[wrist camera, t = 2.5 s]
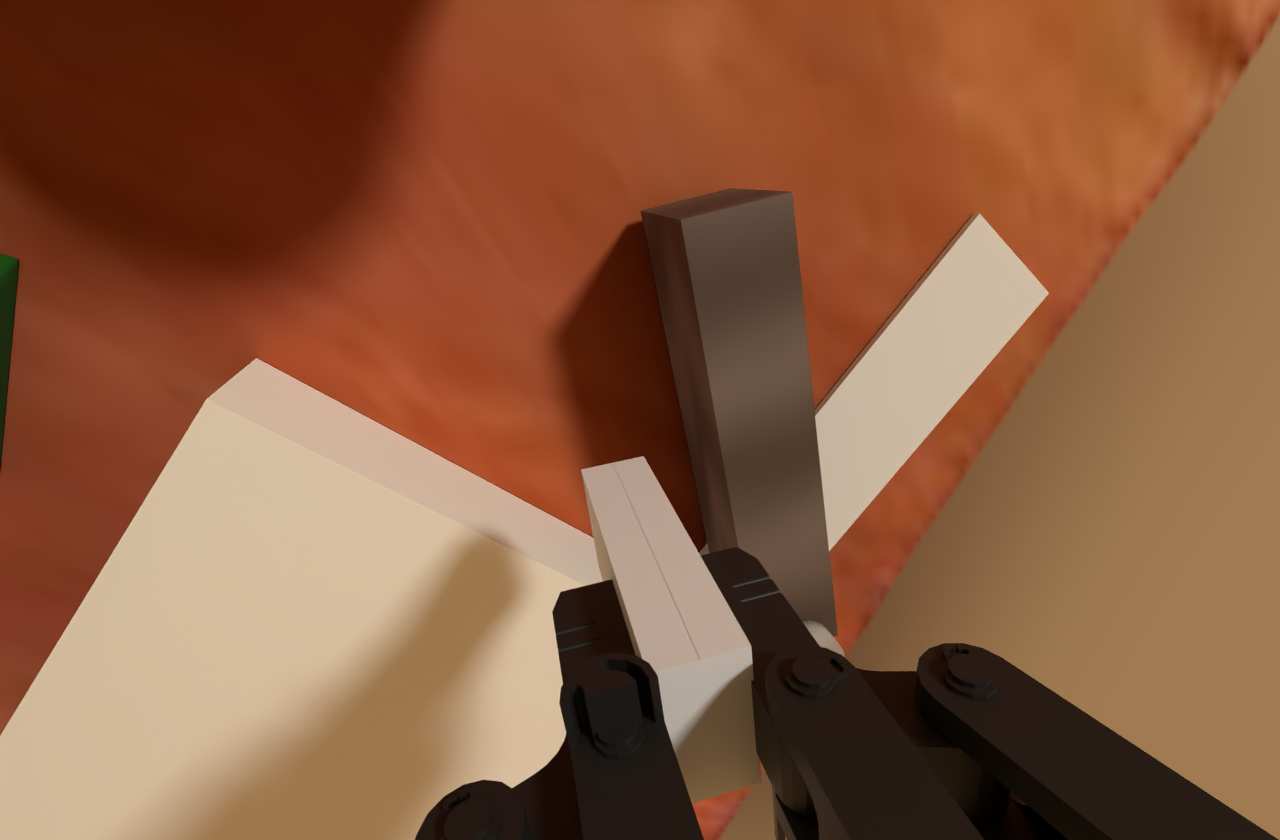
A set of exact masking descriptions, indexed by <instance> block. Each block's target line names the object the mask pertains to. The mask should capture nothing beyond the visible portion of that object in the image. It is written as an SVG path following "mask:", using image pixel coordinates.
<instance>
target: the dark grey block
mask: <svg viewBox="0 0 1280 840" xmlns="http://www.w3.org/2000/svg"><path fill="white" fill-rule="evenodd" d="M641 215H642V220H643V225H644V230H645V235H646V240H647V245H648V250H649V255H650V260H651V265H652V270H653V275H654V280H655V285H656V290H657V295H658V300H659V305H660V310H661V315H662V320H663V325H664V330H665V335H666V340H667V345H668V350H669V355H670V360H671V365H672V370H673V375H674V380H675V385H676V390H677V395H678V399H679V404H680V409H681V414H682V419H683V424H684V429H685V434H686V439H687V444H688V449H689V454H690V459H691V464H692V469H693V474H694V479H695V484H696V489H697V494H698V499H699V504H700V509H701V514H702V519H703V524H704V529H705V534H706V539H707V544H708V549H709V553H713V552H717V551H721V550H725V549H729V548H734V547H738V548H740V549H742V550H744V551H745V552H747V553H749V554H750V555H752V556H754V557H755V558H757V559H758V560H759V562H760V563H761V565H762V566H763V567H764V569H765V570H766V572H767V573H768V574H769V577H770V579H772V580H773V581H774V583H775V584H776V586H777V587H778V588H779V591H780V593H782V594H783V595H784V597H785V598H786V600H787V601H788V602H789V604H790V605H791V607H792V608H793V609H794V611H795V612H796V614H797V615H798V616H799V618H800V619H801V621H802V622H803V623H804V625H805V626H806V628H807V629H808V630H809V632H810V633H811V634H812V636H813V637H814V639H815V640H816V641H817V643H818V644H819V645H820V647H824V648H827V649H830V650H832V651H834V652H836V653H838V654H840V655H842V656H843V657H845V656H844V652H843V650H842V648H841V646H840V645H839V644H838V643H837V641H836V640H835V639H834V636H837V635H838V633H837V624H836V614H835V604H834V595H833V585H832V575H831V566H830V556H829V546H828V536H827V527H826V517H825V507H824V498H823V488H822V478H821V469H820V459H819V449H818V440H817V430H816V420H815V411H814V401H813V391H812V381H811V372H810V362H809V352H808V343H807V333H806V323H805V314H804V304H803V294H802V285H801V275H800V265H799V256H798V246H797V236H796V227H795V217H794V207H793V197H792V192H786V191H768V190H749V189H727V190H723V191H719V192H715V193H711V194H707V195H703V196H699V197H695V198H691V199H687V200H683V201H679V202H675V203H671V204H667V205H663V206H659V207H655V208H650V209H646V210H642V211H641Z"/></svg>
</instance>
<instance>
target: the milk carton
mask: <svg viewBox="0 0 1280 840" xmlns="http://www.w3.org/2000/svg"><path fill="white" fill-rule="evenodd" d="M18 266H19V259H17V258H13V257H10V256H6V255H3V254H0V464H1V453H2V442H3V431H4V420H5V409H6V398H7V387H8V376H9V365H10V354H11V343H12V332H13V321H14V310H15V299H16V288H17V277H18Z"/></svg>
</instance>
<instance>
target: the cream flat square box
mask: <svg viewBox="0 0 1280 840" xmlns="http://www.w3.org/2000/svg"><path fill="white" fill-rule="evenodd" d="M599 582H603V580H602V576H601V573H600V569H599V565H598V559H597V554H596V548H595V543H594V538H592V537H590V536H589V535H587V534H585V533H583V532H581V531H579V530H577V529H575V528H574V527H572V526H570V525H568V524H566V523H564V522H562V521H561V520H559V519H557V518H555V517H553V516H551V515H549V514H547V513H546V512H544V511H542V510H540V509H538V508H536V507H534V506H532V505H531V504H529V503H527V502H525V501H523V500H521V499H519V498H517V497H516V496H514V495H512V494H510V493H508V492H506V491H504V490H502V489H501V488H499V487H497V486H495V485H493V484H491V483H489V482H487V481H486V480H484V479H482V478H480V477H478V476H476V475H474V474H472V473H471V472H469V471H467V470H465V469H463V468H461V467H459V466H458V465H456V464H454V463H452V462H450V461H448V460H446V459H444V458H443V457H441V456H439V455H437V454H435V453H433V452H431V451H429V450H428V449H426V448H424V447H422V446H420V445H418V444H416V443H414V442H413V441H411V440H409V439H407V438H405V437H403V436H401V435H399V434H398V433H396V432H394V431H392V430H390V429H388V428H386V427H384V426H383V425H381V424H379V423H377V422H375V421H373V420H371V419H370V418H368V417H366V416H364V415H362V414H360V413H358V412H356V411H355V410H353V409H351V408H349V407H347V406H345V405H343V404H341V403H340V402H338V401H336V400H334V399H332V398H330V397H328V396H326V395H325V394H323V393H321V392H319V391H317V390H315V389H313V388H311V387H310V386H308V385H306V384H304V383H302V382H300V381H298V380H296V379H295V378H293V377H291V376H289V375H287V374H285V373H283V372H281V371H280V370H278V369H276V368H274V367H272V366H270V365H268V364H267V363H265V362H263V361H261V360H259V359H257V358H256V359H255V360H254V361H252V362H251V363H250V364H249V365H247V366H246V367H245V368H244V369H243V370H241V371H240V372H239V373H238V374H236V375H235V376H234V377H233V378H232V379H230V380H229V381H228V382H227V383H226V384H224V385H223V386H222V387H221V388H219V389H218V390H217V391H216V392H215V393H213V394H212V395H211V396H210V397H209V398H207V399H206V401H205V403H204V404H203V406H202V407H201V409H200V411H199V412H198V414H197V416H196V417H195V419H194V421H193V422H192V424H191V425H190V427H189V429H188V430H187V432H186V434H185V435H184V437H183V438H182V440H181V442H180V443H179V445H178V447H177V448H176V450H175V452H174V453H173V455H172V456H171V458H170V460H169V461H168V463H167V465H166V466H165V468H164V470H163V471H162V473H161V474H160V476H159V478H158V479H157V481H156V483H155V484H154V486H153V487H152V489H151V491H150V492H149V494H148V496H147V497H146V499H145V501H144V502H143V504H142V505H141V507H140V509H139V510H138V512H137V514H136V515H135V517H134V518H133V520H132V522H131V523H130V525H129V527H128V528H127V530H126V532H125V533H124V535H123V536H122V538H121V540H120V541H119V543H118V545H117V546H116V548H115V550H114V551H113V553H112V554H111V556H110V558H109V559H108V561H107V563H106V564H105V566H104V567H103V569H102V571H101V572H100V574H99V576H98V577H97V579H96V581H95V582H94V584H93V585H92V587H91V589H90V590H89V592H88V594H87V595H86V597H85V598H84V600H83V602H82V603H81V605H80V607H79V608H78V610H77V612H76V613H75V615H74V616H73V618H72V620H71V621H70V623H69V625H68V626H67V628H66V630H65V631H64V633H63V634H62V636H61V638H60V639H59V641H58V643H57V644H56V646H55V647H54V649H53V651H52V652H51V654H50V656H49V657H48V659H47V661H46V662H45V664H44V665H43V667H42V669H41V670H40V672H39V674H38V675H37V677H36V679H35V680H34V682H33V683H32V685H31V687H30V688H29V690H28V692H27V693H26V695H25V696H24V698H23V700H22V701H21V703H20V705H19V706H18V708H17V710H16V711H15V713H14V714H13V716H12V718H11V719H10V721H9V723H8V724H7V726H6V727H5V729H4V731H3V732H2V734H1V736H0V840H415V838H416V835H417V833H418V831H419V829H420V827H421V825H422V823H423V821H424V819H425V818H426V816H427V814H428V813H429V812H430V811H431V809H432V808H433V807H434V806H435V805H436V804H437V803H438V802H439V801H440V800H441V799H442V798H443V797H444V796H446V795H447V794H449V793H451V792H452V791H454V790H456V789H457V788H459V787H460V786H462V785H464V784H468V783H472V782H476V781H480V780H491V781H500V782H503V783H505V784H506V785H508V786H509V787H511V788H513V787H515V786H516V785H518V784H520V783H521V782H523V781H524V780H526V779H528V778H529V777H531V776H532V775H534V774H535V773H537V772H538V771H539V770H541V769H542V768H543V767H544V766H546V765H547V764H548V763H549V762H550V761H551V759H552V758H553V757H554V756H555V755H556V754H557V752H558V751H559V749H560V747H561V745H562V744H563V742H564V740H565V736H566V730H565V725H564V721H563V717H562V713H561V708H560V704H559V701H560V692H561V687H562V685H563V681H562V674H561V668H560V661H559V654H558V648H557V641H556V634H555V627H554V621H553V614H552V611H553V609H554V606H555V604H556V602H557V599H558V597H559V594H560V592H562V591H566V590H570V589H574V588H578V587H582V586H586V585H591V584H595V583H599Z"/></svg>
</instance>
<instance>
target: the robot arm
mask: <svg viewBox="0 0 1280 840" xmlns="http://www.w3.org/2000/svg"><path fill="white" fill-rule="evenodd" d="M581 472H582V477H583V483H584V488H585V494H586V499H587V505H588V510H589V516H590V521H591V527H592V532H593V537H594V543H595V548H596V554H597V559H598V565H599V569H600V573H601V576H602V580H603V582H599V583H595V584H591V585H586V586H582V587H578V588H574V589H570V590H566V591H562V592H560V594H559V597H558V599H557V602H556V604H555V606H554V609H553V611H552V614H553V621H554V627H555V634H556V641H557V648H558V654H559V661H560V668H561V674H562V681H563V685H562V687H561V692H560V701H559V704H560V708H561V713H562V717H563V721H564V725H565V730H566V736H565V740H564V742H563V744H562V745H561V747H560V749H559V751H558V752H557V754H556V755H555V756H554V757H553V758H552V759H551V761H550V762H549V763H548V764H547V765H546V766H544V767H543V768H542V769H541V770H539V771H538V772H537V773H535V774H534V775H532V776H531V777H529V778H528V779H526V780H524V781H523V782H521V783H520V784H518V785H516V786H515V787H513V788H511V787H509V786H508V785H506V784H505V783H503V782H500V781H491V780H480V781H476V782H472V783H468V784H464V785H462V786H460V787H459V788H457V789H456V790H454V791H452V792H451V793H449V794H447V795H446V796H444V797H443V798H442V799H441V800H440V801H439V802H438V803H437V804H436V805H435V806H434V807H433V808H432V809H431V811H430V812H429V813H428V814H427V816H426V818H425V819H424V821H423V823H422V825H421V827H420V829H419V831H418V833H417V835H416V838H415V840H704V839H703V836H702V833H701V830H700V827H699V824H698V821H697V818H696V815H695V812H694V809H693V806H692V803H696V802H699V801H702V800H705V799H708V798H712V797H715V796H718V795H721V794H724V793H728V792H731V791H734V790H737V789H740V788H744V787H747V786H750V785H753V784H757V783H760V782H761V771H760V761H761V763H762V765H763V767H764V769H765V771H766V773H767V775H768V778H769V779H770V782H771V784H772V792H773V806H774V823H775V836H776V840H785V836H786V838H787V840H1278V839H1277V838H1275V837H1274V836H1272V835H1270V834H1269V833H1267V832H1266V831H1264V830H1263V829H1261V828H1260V827H1258V826H1257V825H1255V824H1254V823H1252V822H1251V821H1249V820H1247V819H1246V818H1245V817H1243V816H1242V815H1240V814H1239V813H1237V812H1236V811H1234V810H1232V809H1231V808H1229V807H1228V806H1226V805H1225V804H1223V803H1222V802H1220V801H1219V800H1217V799H1216V798H1214V797H1213V796H1211V795H1210V794H1208V793H1207V792H1205V791H1204V790H1202V789H1200V788H1199V787H1198V786H1196V785H1194V784H1193V783H1191V782H1190V781H1188V780H1187V779H1185V778H1184V777H1182V776H1181V775H1179V774H1178V773H1176V772H1175V771H1173V770H1172V769H1170V768H1169V767H1167V766H1166V765H1164V764H1163V763H1161V762H1160V761H1158V760H1156V759H1155V758H1153V757H1152V756H1150V755H1149V754H1147V753H1146V752H1144V751H1143V750H1141V749H1140V748H1138V747H1137V746H1135V745H1134V744H1132V743H1131V742H1129V741H1128V740H1126V739H1125V738H1123V737H1121V736H1120V735H1118V734H1117V733H1115V732H1114V731H1112V730H1111V729H1109V728H1108V727H1106V726H1105V725H1103V724H1102V723H1100V722H1099V721H1097V720H1096V719H1094V718H1092V717H1091V716H1090V715H1088V714H1087V713H1085V712H1083V711H1082V710H1080V709H1079V708H1077V707H1076V706H1074V705H1073V704H1071V703H1070V702H1068V701H1067V700H1065V699H1063V698H1062V697H1061V696H1059V695H1058V694H1056V693H1054V692H1053V691H1052V690H1050V689H1048V688H1047V687H1045V686H1044V685H1042V684H1041V683H1039V682H1038V681H1036V680H1035V679H1033V678H1032V677H1030V676H1029V675H1027V674H1026V673H1024V672H1023V671H1021V670H1020V669H1018V668H1017V667H1015V666H1014V665H1012V664H1011V663H1009V662H1007V661H1006V660H1004V659H1003V658H1001V657H999V656H997V655H995V654H993V653H991V652H989V651H987V650H985V649H983V648H980V647H976V646H971V645H967V644H963V643H959V644H958V643H951V644H950V643H949V644H941V645H938V646H935V647H932V648H929V649H928V650H927V651H926V652H925V653H924V654H923V655H922V656H921V657H920V658H919V661H918V667H917V671H916V672H915V671H910V672H909V671H906V672H904V671H898V672H896V671H895V672H894V671H893V672H892V671H887V672H885V671H883V672H880V671H868V670H862V669H858V668H855V667H854V666H853V665H852V664H851V663H850V662H849V661H848V660H846V658H845V657H843V656H842V655H840V654H838V653H836V652H834V651H832V650H830V649H827V648H824V647H820V645H819V644H818V643H817V641H816V640H815V639H814V637H813V636H812V634H811V633H810V632H809V630H808V629H807V628H806V626H805V625H804V623H803V622H802V621H801V619H800V618H799V616H798V615H797V614H796V612H795V611H794V609H793V608H792V607H791V605H790V604H789V602H788V601H787V600H786V598H785V597H784V595H783V594H782V593H780V591H779V588H778V587H777V586H776V584H775V583H774V581H773V580H772V579H770V577H769V574H768V573H767V572H766V570H765V569H764V567H763V566H762V565H761V563H760V562H759V560H758V559H757V558H755V557H754V556H752V555H750V554H749V553H747V552H745V551H744V550H742V549H740V548H738V547H734V548H729V549H725V550H721V551H717V552H713V553H709V554H705V555H701V556H700V554H699V553H698V551H697V549H696V547H695V546H694V544H693V542H692V540H691V539H690V537H689V535H688V533H687V531H686V530H685V528H684V526H683V524H682V523H681V521H680V519H679V517H678V516H677V514H676V512H675V510H674V509H673V507H672V505H671V503H670V502H669V500H668V498H667V496H666V494H665V493H664V491H663V489H662V487H661V486H660V484H659V482H658V480H657V479H656V477H655V475H654V473H653V472H652V470H651V468H650V466H649V465H648V463H647V461H646V459H645V458H644V456H642V457H637V458H632V459H628V460H623V461H618V462H614V463H609V464H605V465H600V466H595V467H591V468H586V469H581Z"/></svg>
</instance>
